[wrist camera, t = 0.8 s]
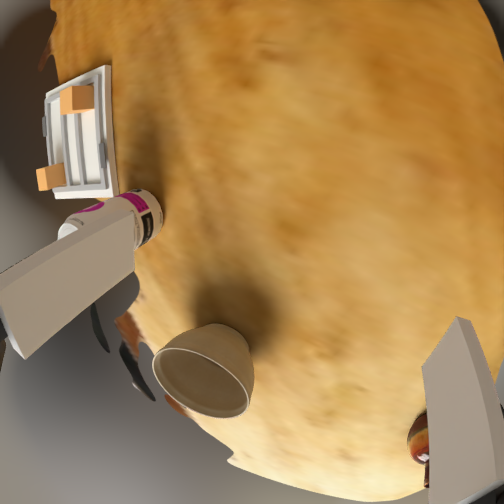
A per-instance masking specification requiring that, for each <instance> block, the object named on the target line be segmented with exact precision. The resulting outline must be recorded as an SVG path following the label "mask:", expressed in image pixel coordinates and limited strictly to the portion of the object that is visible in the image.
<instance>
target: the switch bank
mask: <svg viewBox="0 0 504 504" xmlns="http://www.w3.org/2000/svg"><path fill="white" fill-rule="evenodd" d="M70 86H94V108H95V109H92V110H89V111H86V112H83V113H75V114H66V115H60V91H62V90H64V89H66V88H68V87H70ZM42 123H43V137H45V136H46V139H47V150H48V160H49V166H51V165H54V164H58V163H63V162H64V167H65V175H66V182H67V183H66V184H63V185H60V186H58V187H55V188H52V189H53V193H55V198H56V199H64V198H97V197H115V196H118V195H119V188H118V180H117V171H116V162H115V151H114V139H113V125H112V103H111V66H109V65H104V66H101V67H99V68H96V69H94V70H92V71H90V72H87V73H85V74H83V75H81V76H79V77H77V78H75V79H73V80H71V81H69V82H67V83H65V84H63V85H61V86H59V87H57V88H55V89H53V90H51V91H50V92H48V93H47V94H46V99H45V117H43V118H42Z"/></svg>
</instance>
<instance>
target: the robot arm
mask: <svg viewBox="0 0 504 504" xmlns="http://www.w3.org/2000/svg"><path fill="white" fill-rule="evenodd" d="M134 270H135V263H134V213H133V212H130V211H126V210H123V209H119V210H117V211H114V212H112V213H110V214H108V215H106V216H104V217H102V218H100V219H98V220H96V221H94V222H92V223H90V224H88V225H86V226H84V227H82V228H80V229H78V230H76V231H74V232H72V233H70V234H68V235H66V236H65V237H63V238H61V239H59V240H57V241H55V242H54V243H52V244H50V245H48V246H46V247H45V248H43V249H41V250H39V251H37V252H35V253H33V254H31V255H30V256H28V257H26V258H25V259H24V260H21V261H20V262H18V263H16V264H15V265H13V266H11V267H10V268H8V269H6V270H5V271H3V272H2V273H0V371H1V366H2V361H3V357H4V353H5V349H6V343H5V340H4V339H5V338H6V337H7V336H8V337H9V339H10V342H11V343H12V345H13V348H14V349H15V350H16V351H17V352H18V353H19V354H20V355H21V356H22V357H23V358H24V359H27V357H29V356H30V355H31V354H32V353H33V352H34V351H36V350H37V349H38V348H39V347H40V346H41V345H42V344H44V343H45V342H46V341H47V340H48V339H49V338H50V337H52V336H53V335H54V334H55V333H56V332H58V331H59V330H60V329H61V328H62V327H64V326H65V325H66V324H67V323H68V322H70V321H71V320H72V319H73V318H74V317H76V316H77V315H78V314H79V313H80V312H82V311H83V310H84V309H85V308H87V307H88V306H89V305H90V304H92V303H93V302H94V301H95V300H97V299H98V298H99V297H100V296H102V295H103V294H104V293H105V292H107V291H108V290H109V289H110V288H112V287H113V286H114V285H116V284H117V283H118V282H119V281H121V280H122V279H123V278H125V277H126V276H127V275H128V274H130V273H131V272H133V271H134ZM422 373H423V380H424V388H425V397H426V406H427V418H428V433H429V501H428V504H504V409H503V407H502V405H501V404H500V403H499V399H498V395H497V392H496V389H495V385H494V382H493V379H492V376H491V373H490V370H489V367H488V364H487V361H486V358H485V356H484V353H483V350H482V348H481V345H480V343H479V340H478V338H477V335H476V333H475V330H474V328H473V326H472V323H471V321H470V320H466V319H463V318H460V317H457V316H456V317H455V319H454V321H453V322H452V324H451V325H450V327H449V329H448V330H447V332H446V333H445V335H444V336H443V338H442V339H441V341H440V342H439V344H438V345H437V346H436V348H435V349H434V351H433V352H432V353H431V355H430V356H429V358H428V359H427V360H426V362H425V363H424V364H423V366H422Z"/></svg>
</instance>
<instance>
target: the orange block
mask: <svg viewBox="0 0 504 504" xmlns="http://www.w3.org/2000/svg"><path fill="white" fill-rule="evenodd" d="M92 109H95V108H94V86H70V87H68V88H66V89H64V90H62V91H60V115H66V114H75V113H83V112H86V111H89V110H92Z"/></svg>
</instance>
